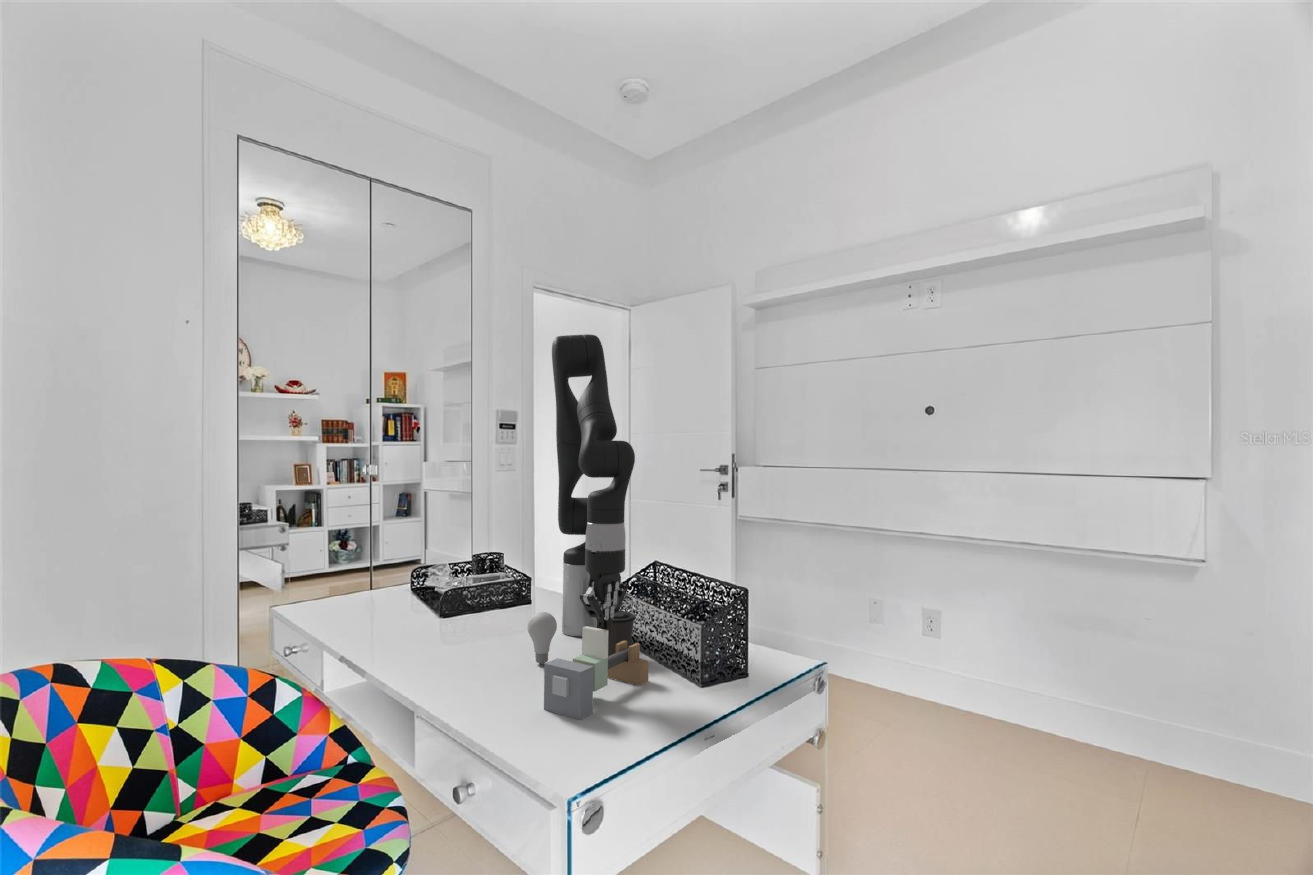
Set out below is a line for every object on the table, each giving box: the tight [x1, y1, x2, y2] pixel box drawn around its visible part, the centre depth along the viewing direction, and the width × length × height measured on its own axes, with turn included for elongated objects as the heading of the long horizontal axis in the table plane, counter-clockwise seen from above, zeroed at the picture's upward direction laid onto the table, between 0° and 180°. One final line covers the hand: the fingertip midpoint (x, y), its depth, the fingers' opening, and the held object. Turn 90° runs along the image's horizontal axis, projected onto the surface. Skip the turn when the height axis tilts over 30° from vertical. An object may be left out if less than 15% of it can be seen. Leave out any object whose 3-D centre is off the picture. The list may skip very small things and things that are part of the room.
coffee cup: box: [608, 610, 637, 657], centre depth 144 cm, size 8×8×10 cm
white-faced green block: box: [572, 626, 609, 693], centre depth 121 cm, size 4×5×10 cm
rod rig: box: [543, 641, 650, 720], centre depth 123 cm, size 23×8×8 cm, turn 149°
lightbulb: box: [527, 611, 558, 665], centre depth 140 cm, size 6×6×11 cm
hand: (604, 638), depth 124 cm, fingers closed
